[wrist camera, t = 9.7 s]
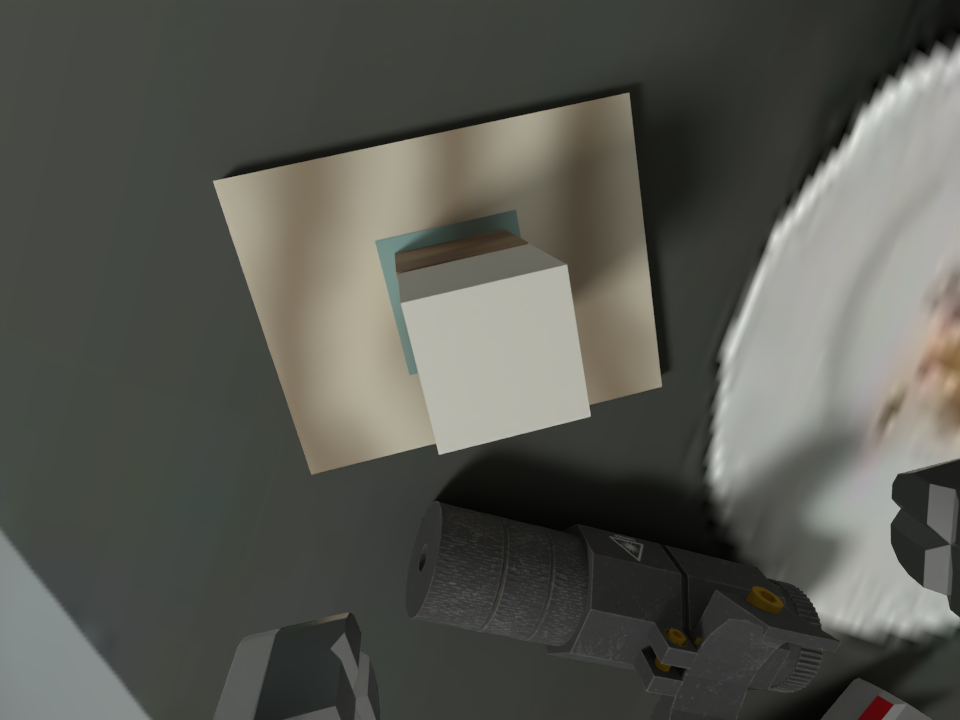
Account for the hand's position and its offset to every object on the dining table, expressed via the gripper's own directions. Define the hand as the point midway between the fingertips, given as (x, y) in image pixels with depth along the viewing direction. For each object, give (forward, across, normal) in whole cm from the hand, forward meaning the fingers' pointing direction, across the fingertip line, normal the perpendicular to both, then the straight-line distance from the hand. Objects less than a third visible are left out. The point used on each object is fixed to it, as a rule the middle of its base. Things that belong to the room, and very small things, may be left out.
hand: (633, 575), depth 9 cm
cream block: (+15, 0, 0) cm, 15 cm away
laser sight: (+22, -4, +18) cm, 28 cm away
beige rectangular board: (+21, +1, 0) cm, 21 cm away
